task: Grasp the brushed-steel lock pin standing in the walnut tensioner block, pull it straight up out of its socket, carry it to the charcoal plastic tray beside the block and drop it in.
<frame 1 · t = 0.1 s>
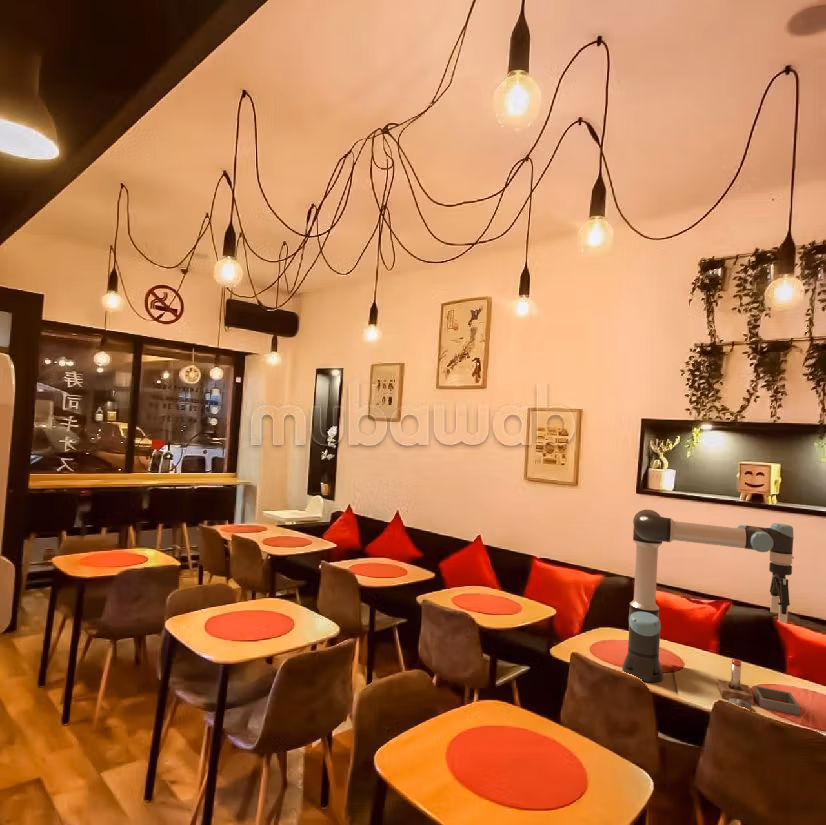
hand: (778, 617, 223), 28 cm above the table, fingers open, 13 cm apart
tensioner block: (734, 698, 210), on the table
lock pin: (735, 695, 210), point 1 cm above the table, touching tensioner block
tray: (775, 706, 205), on the table
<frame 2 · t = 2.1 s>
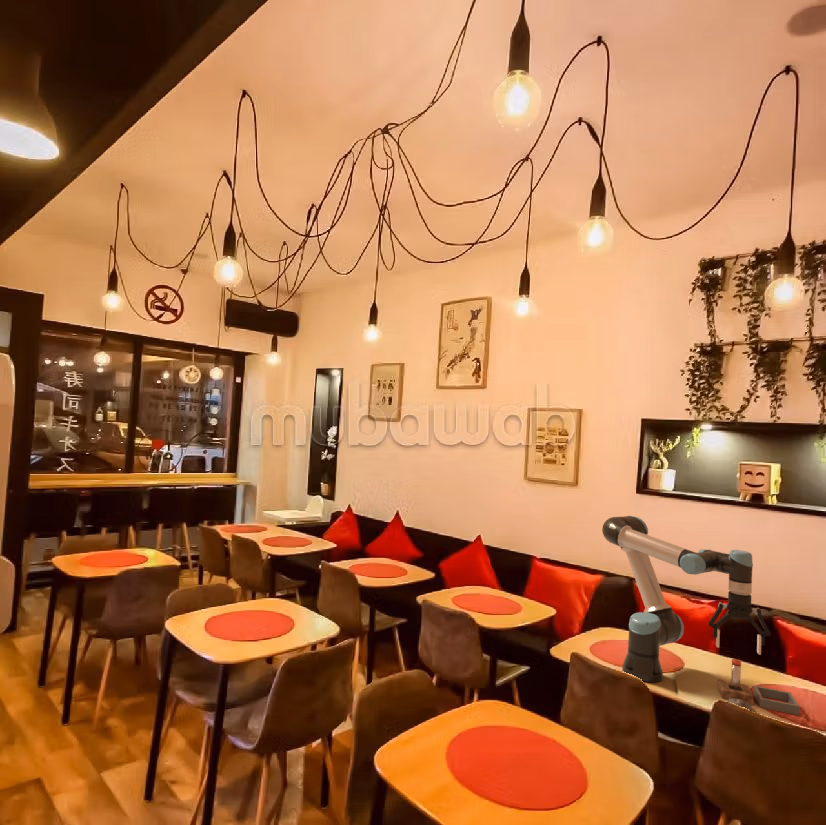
hand: (737, 649, 210), 18 cm above the table, fingers open, 13 cm apart
nothing on the table moved.
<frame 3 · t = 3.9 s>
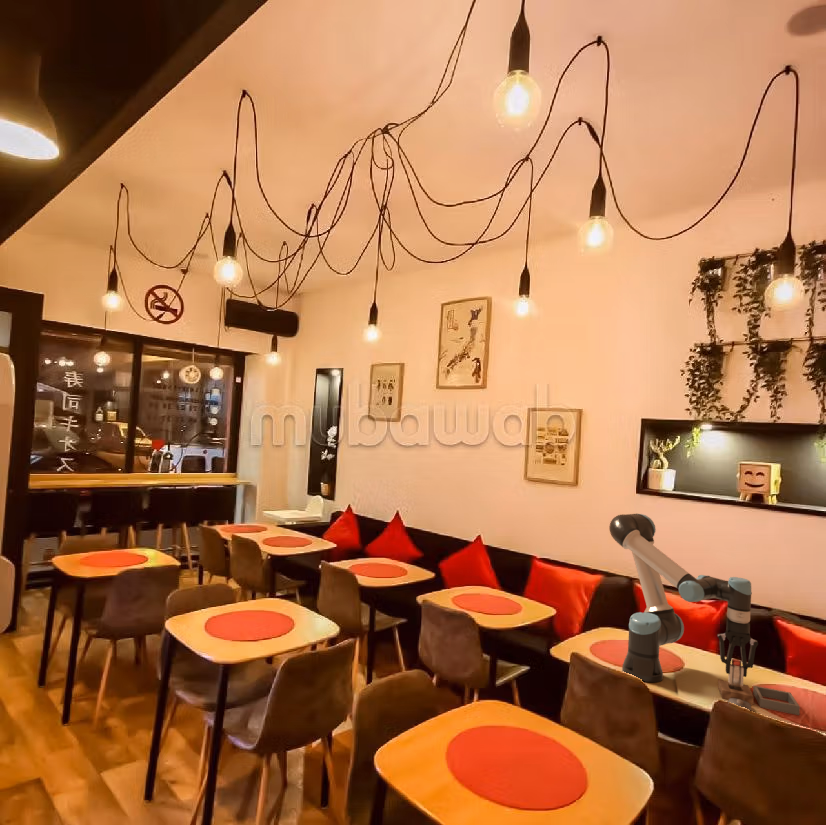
hand: (735, 683, 210), 6 cm above the table, fingers closed on lock pin, 3 cm apart
lock pin: (734, 695, 210), point 1 cm above the table, touching gripper, tensioner block
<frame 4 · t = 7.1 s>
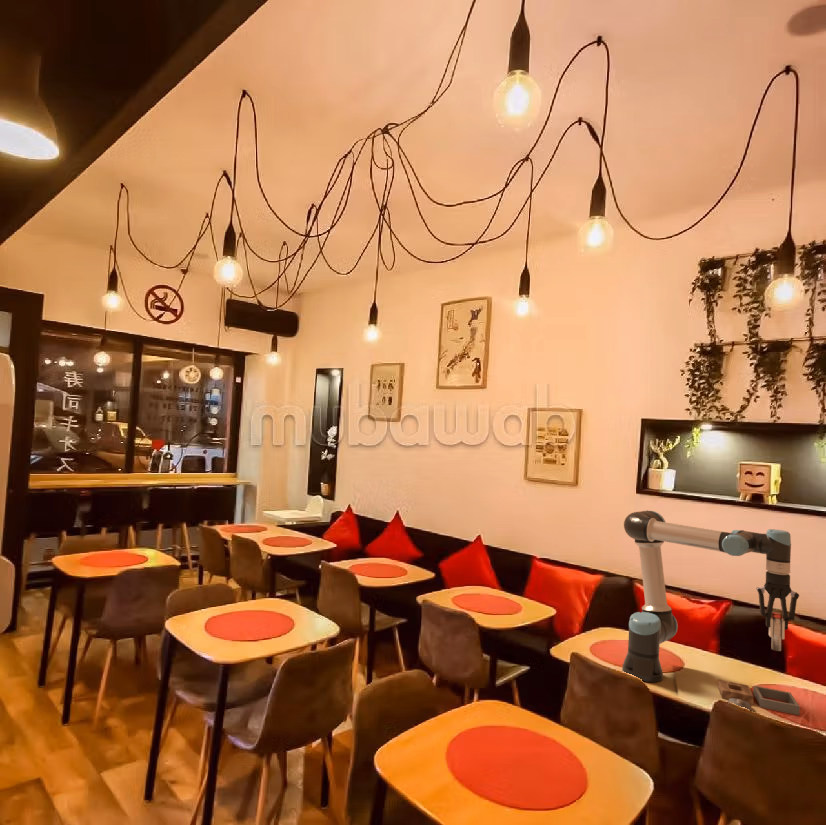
hand: (776, 636, 206), 25 cm above the table, fingers closed on lock pin, 3 cm apart
lock pin: (776, 649, 206), point 21 cm above the table, touching gripper
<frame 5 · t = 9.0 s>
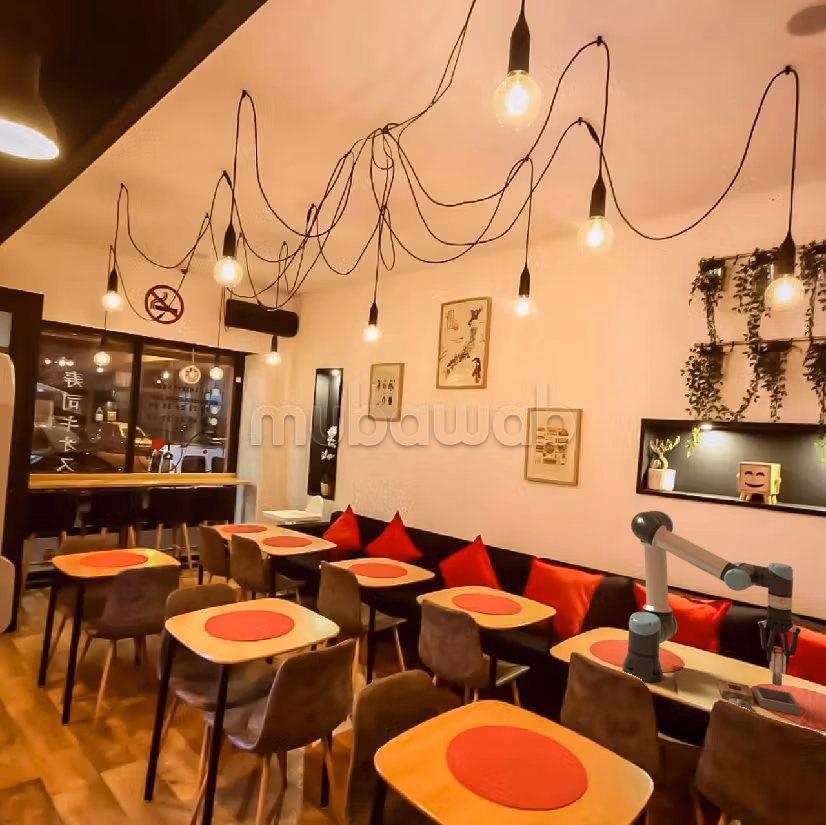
hand: (777, 671, 206), 13 cm above the table, fingers closed on lock pin, 3 cm apart
lock pin: (777, 684, 205), point 8 cm above the table, touching gripper
when the fingers open (6 cm above the table, at t = 10.7 s): lock pin stays where it is, resting on tray.
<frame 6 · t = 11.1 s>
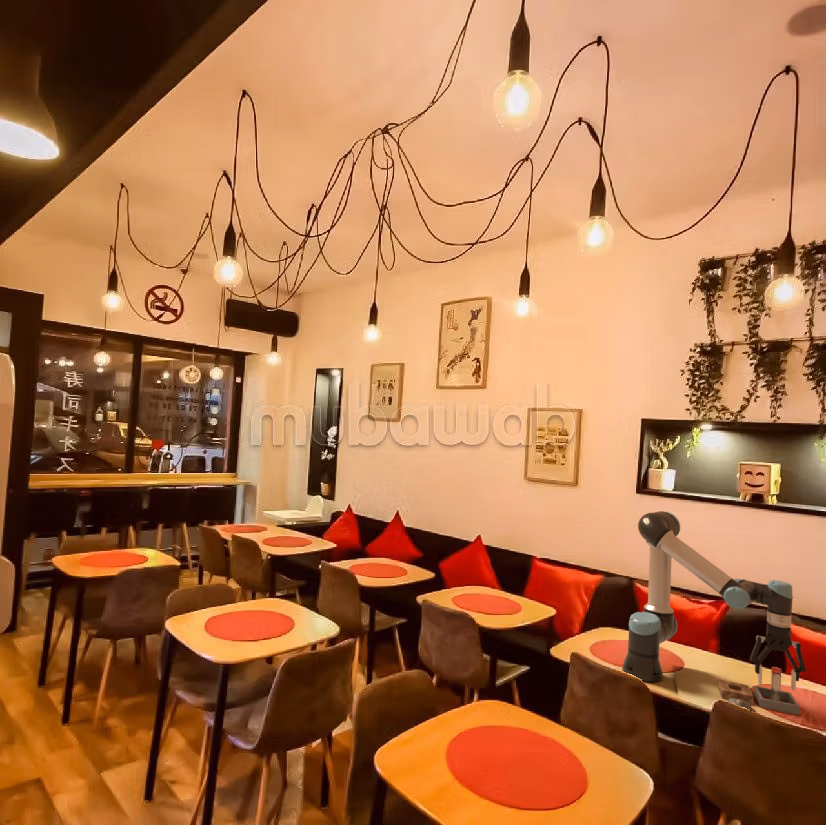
hand: (776, 685, 206), 7 cm above the table, fingers open, 10 cm apart
lock pin: (775, 704, 205), point 1 cm above the table, touching tray
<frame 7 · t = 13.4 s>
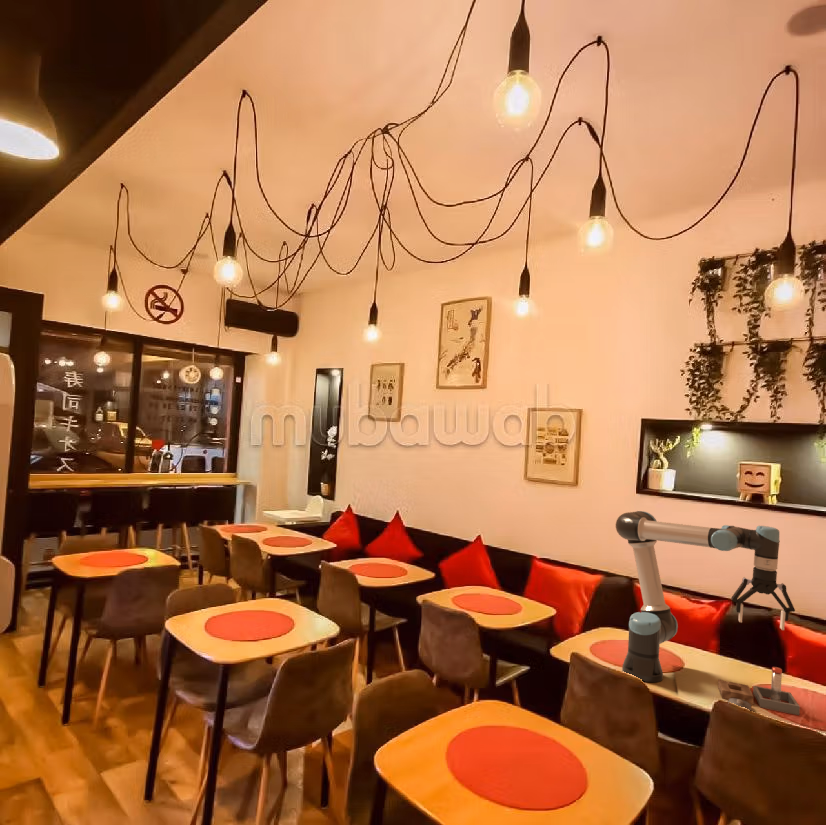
hand: (760, 625, 210), 28 cm above the table, fingers open, 13 cm apart
nothing on the table moved.
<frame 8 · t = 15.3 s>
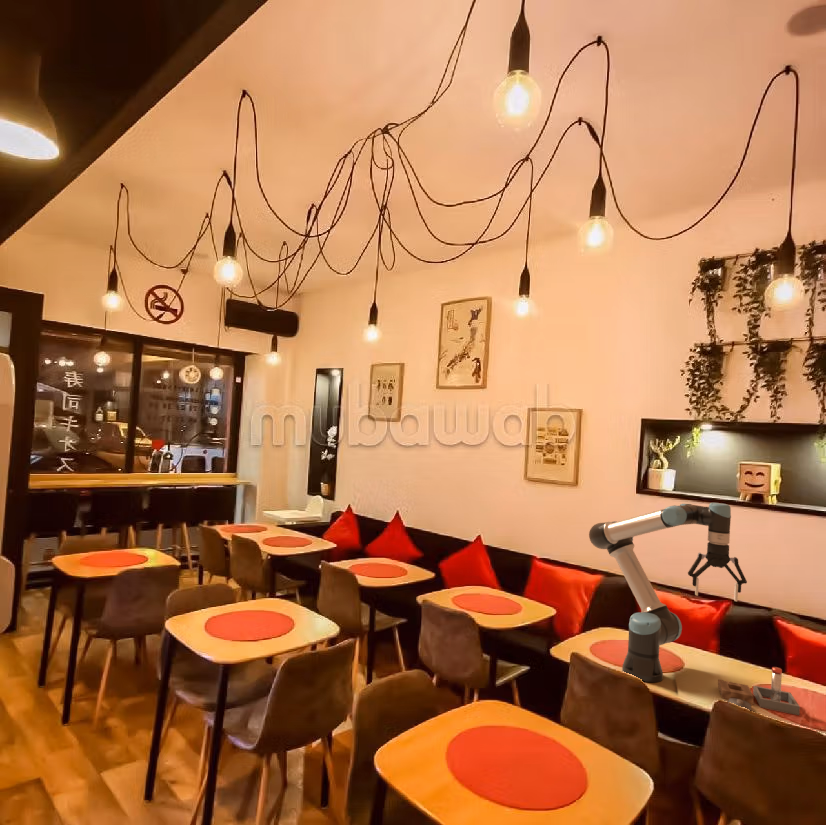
hand: (715, 597, 219), 35 cm above the table, fingers open, 13 cm apart
nothing on the table moved.
at the end: lock pin inside the target area on the tray (0.0 cm from its centre), point 0.8 cm above the tray's base; lock pin touching tray; the gripper is holding nothing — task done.
